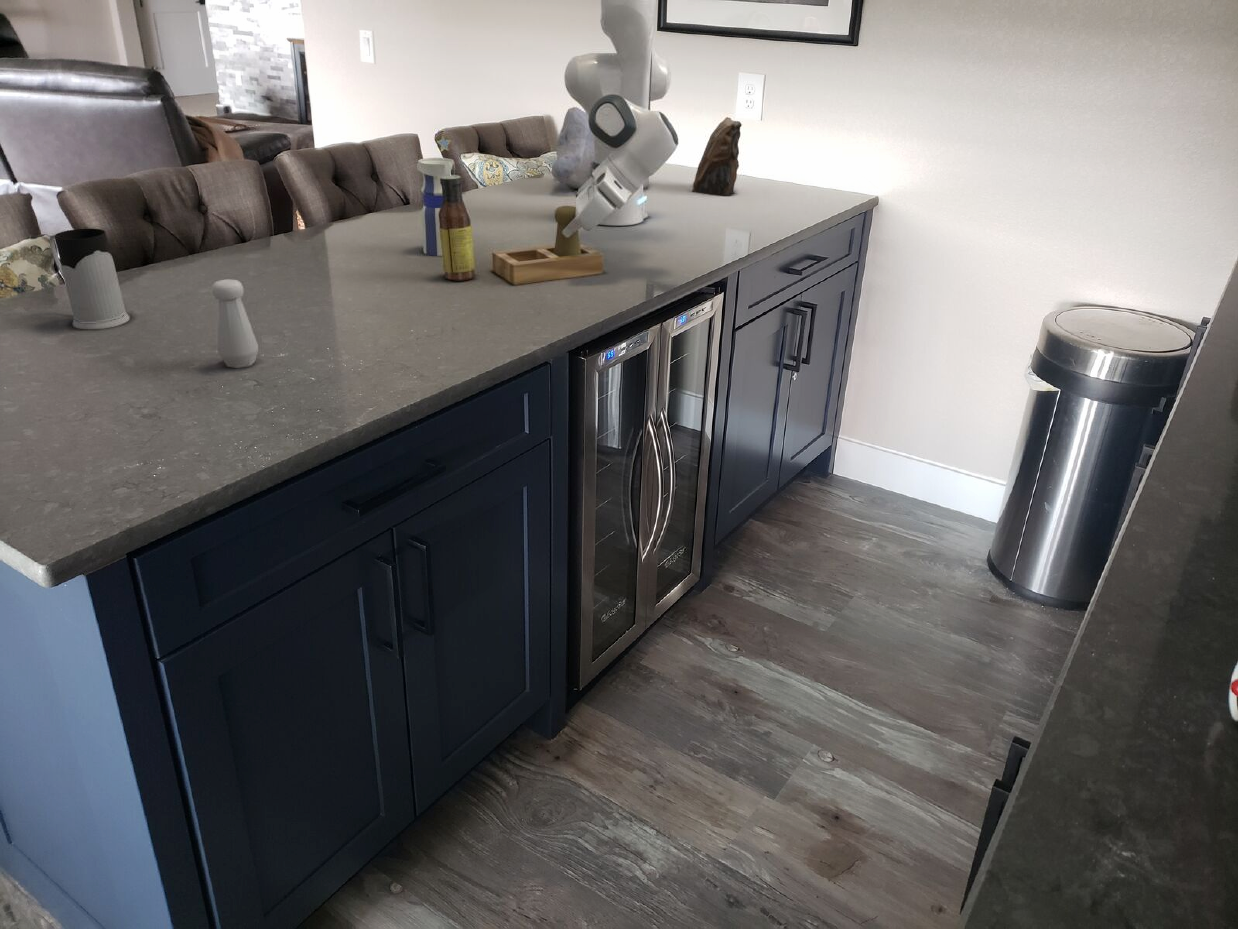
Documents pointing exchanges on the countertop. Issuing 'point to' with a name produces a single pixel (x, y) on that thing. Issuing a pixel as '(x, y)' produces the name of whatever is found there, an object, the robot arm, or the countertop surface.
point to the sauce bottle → (455, 231)
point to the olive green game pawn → (563, 243)
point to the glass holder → (89, 278)
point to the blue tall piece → (433, 197)
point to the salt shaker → (234, 326)
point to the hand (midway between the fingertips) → (564, 231)
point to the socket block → (545, 264)
